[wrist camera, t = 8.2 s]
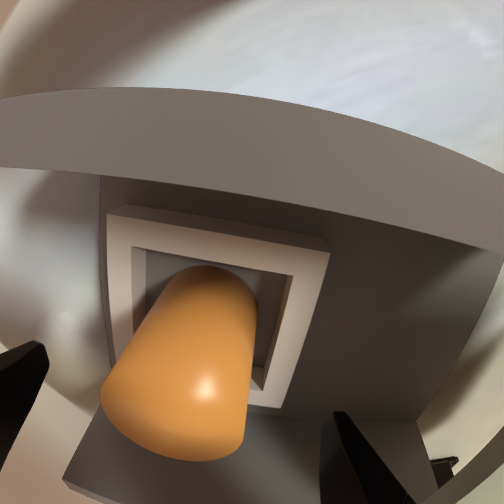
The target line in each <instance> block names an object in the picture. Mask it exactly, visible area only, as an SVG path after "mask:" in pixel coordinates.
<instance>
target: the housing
mask: <svg viewBox="0 0 504 504" xmlns="http://www.w3.org/2000/svg"><path fill="white" fill-rule="evenodd" d="M0 167H9V168H26V169H41V170H54V171H66V172H77V173H88V174H98V175H101V178H100V210H99V233H100V265H101V283H102V296H103V307H104V317H105V326H106V334H107V342H108V349H109V355H110V362H111V368H112V369H113V367H114V366H115V364H116V362H117V361H118V359H119V358H120V356H121V354H122V353H123V351H124V350H125V348H126V346H127V345H128V343H129V342H130V340H131V339H132V337H133V335H134V334H135V332H136V331H137V329H138V328H139V326H140V325H141V323H142V322H143V320H144V318H145V317H146V315H147V314H148V312H149V311H150V309H151V308H152V306H153V305H154V303H155V302H156V300H157V299H158V297H159V296H160V294H161V293H162V291H163V290H164V288H165V287H166V285H167V284H168V282H169V281H170V280H171V279H172V277H173V276H174V275H176V274H177V273H178V272H180V271H181V270H183V269H186V268H188V267H191V266H196V265H213V266H218V267H221V268H224V269H227V270H229V271H231V272H233V273H234V274H236V275H237V276H239V277H240V278H241V279H242V280H244V281H245V282H246V284H247V285H248V286H249V287H250V289H251V290H252V292H253V294H254V296H255V298H256V301H257V306H258V317H257V326H256V335H255V344H254V353H253V362H252V371H251V379H250V388H249V396H248V405H247V413H246V421H245V430H244V437H243V441H242V443H241V445H240V446H239V448H238V449H237V450H236V451H235V452H233V453H232V454H230V455H228V456H226V457H223V458H220V459H217V460H211V461H185V460H178V459H174V458H170V457H166V456H163V455H160V454H157V453H154V452H152V451H150V450H148V449H146V448H144V447H142V446H140V445H138V444H136V443H135V442H133V441H132V440H130V439H129V438H127V437H126V436H125V435H124V434H122V433H121V432H120V431H119V430H118V429H117V428H116V427H115V426H114V425H113V424H112V423H111V421H110V420H109V419H108V417H107V416H106V414H105V412H104V410H103V408H102V405H101V404H100V406H99V408H98V410H97V412H96V414H95V415H94V417H93V419H92V421H91V423H90V425H89V427H88V428H87V431H86V432H85V434H84V436H83V438H82V440H81V442H80V444H79V445H78V447H77V449H76V451H75V453H74V455H73V457H72V459H71V461H70V463H69V465H68V467H67V469H66V471H65V473H64V475H63V477H62V480H63V481H64V482H65V483H66V485H67V486H68V487H69V488H70V489H72V490H74V491H76V492H78V493H81V494H83V495H85V496H87V497H90V498H92V499H95V500H97V501H100V502H102V503H105V504H321V503H320V488H319V462H320V441H321V429H322V426H323V424H324V422H325V421H326V419H327V417H328V415H329V413H330V412H331V411H333V410H335V411H345V412H346V413H347V414H348V416H349V417H350V418H351V420H352V421H353V422H354V423H355V425H356V426H357V427H358V429H359V430H360V431H361V433H362V434H363V435H364V437H365V438H366V439H367V440H368V442H369V443H370V444H371V446H372V447H373V448H374V450H375V451H376V452H377V453H378V455H379V456H380V457H381V459H382V460H383V461H384V462H385V464H386V465H387V466H388V468H389V469H390V470H391V471H392V473H393V474H394V475H395V477H396V478H397V479H398V480H399V482H400V483H401V484H402V485H403V487H404V488H405V489H406V491H407V492H408V494H410V495H411V497H412V498H413V499H414V500H415V502H416V503H417V504H421V503H422V502H423V501H425V500H426V499H427V498H428V497H430V496H431V495H432V494H434V493H435V492H436V491H437V490H439V489H438V486H437V483H436V479H435V476H434V473H433V470H432V466H431V463H430V460H429V457H428V454H427V451H426V448H425V445H424V442H423V440H422V437H421V434H420V431H419V428H418V425H417V423H416V420H417V418H418V417H419V416H420V414H421V413H422V412H423V410H424V409H425V407H426V406H427V405H428V403H429V402H430V400H431V399H432V398H433V396H434V395H435V393H436V392H437V390H438V389H439V387H440V386H441V384H442V383H443V381H444V380H445V378H446V376H447V375H448V373H449V372H450V370H451V368H452V367H453V365H454V364H455V362H456V360H457V358H458V357H459V355H460V353H461V352H462V350H463V348H464V346H465V344H466V343H467V341H468V339H469V337H470V335H471V333H472V331H473V330H474V328H475V326H476V324H477V322H478V320H479V318H480V316H481V314H482V312H483V309H484V307H485V305H486V303H487V301H488V299H489V296H490V294H491V292H492V289H493V287H494V285H495V282H496V280H497V278H498V275H499V273H500V270H501V267H502V265H503V262H504V174H503V173H501V172H499V171H497V170H495V169H493V168H491V167H488V166H486V165H484V164H482V163H480V162H478V161H476V160H473V159H471V158H469V157H466V156H464V155H462V154H459V153H457V152H455V151H452V150H450V149H447V148H445V147H442V146H440V145H437V144H435V143H432V142H429V141H427V140H424V139H421V138H418V137H416V136H413V135H410V134H407V133H404V132H401V131H398V130H395V129H392V128H389V127H385V126H382V125H379V124H375V123H372V122H369V121H365V120H362V119H358V118H354V117H351V116H347V115H343V114H339V113H335V112H331V111H326V110H322V109H318V108H313V107H309V106H304V105H299V104H294V103H289V102H283V101H278V100H272V99H266V98H259V97H253V96H246V95H238V94H230V93H221V92H212V91H201V90H188V89H172V88H143V87H116V88H88V89H72V90H60V91H50V92H41V93H33V94H26V95H19V96H13V97H7V98H2V99H0Z"/></svg>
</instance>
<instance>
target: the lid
mask: <svg viewBox="0 0 504 504" xmlns="http://www.w3.org/2000/svg"><path fill="white" fill-rule="evenodd" d="M421 504H504V426H503V427H502V429H501V430H500V431H499V432H498V433H497V434H496V435H495V436H494V438H493V439H492V440H491V441H490V442H489V443H488V444H487V445H486V446H485V447H484V448H483V449H482V450H481V451H480V452H479V453H478V454H477V455H476V456H475V457H474V458H473V459H472V460H471V461H470V462H469V463H468V464H467V465H466V466H465V467H464V468H463V469H462V470H461V471H459V472H458V473H457V474H456V475H455V476H454V477H453V478H452V479H450V480H449V481H448V482H447V483H446V484H445V485H443V486H442V487H441V488H440V489H439V490H437V491H436V492H435V493H434V494H432V495H431V496H430V497H428V498H427V499H426V500H425V501H423V502H422V503H421Z"/></svg>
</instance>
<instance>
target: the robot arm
mask: <svg viewBox="0 0 504 504" xmlns="http://www.w3.org/2000/svg"><path fill="white" fill-rule="evenodd" d="M49 365H50V364H49V359H48V356H47V352H46V349H45V346H44V345H43V344H42V343H40V342H37V341H34V340H33V341H30V342H27V343H25V344H23V345H20V346H18V347H16V348H13V349H11V350H9V351H6V352H4V353H1V354H0V471H1V469H2V467H3V464H4V462H5V460H6V458H7V455H8V453H9V451H10V449H11V447H12V445H13V443H14V441H15V439H16V437H17V435H18V433H19V431H20V429H21V427H22V425H23V423H24V421H25V419H26V417H27V415H28V413H29V412H30V410H31V408H32V406H33V404H34V402H35V399H36V397H37V395H38V392H39V390H40V388H41V385H42V383H43V381H44V378H45V376H46V374H47V372H48V369H49ZM458 461H459V459H458V457H453V458H448V459H443V460H437V461H431V462H430V463H431V466H432V470H433V473H434V476H435V479H436V483H437V486H438V489H440V488H441V487H442V486H443V485H445V484H446V483H447V482H448V481H449V480H450V479H452V478H453V477H454V475H453V472H452V469H451V468H452V467H453V466H454V465H455V464H456V463H458ZM319 488H320V503H321V504H417V503H416V502H415V500H414V499H413V498H412V497H411V495H410V494H408V492H407V491H406V489H405V488H404V487H403V485H402V484H401V483H400V482H399V480H398V479H397V478H396V477H395V475H394V474H393V473H392V471H391V470H390V469H389V468H388V466H387V465H386V464H385V462H384V461H383V460H382V459H381V457H380V456H379V455H378V453H377V452H376V451H375V450H374V448H373V447H372V446H371V444H370V443H369V442H368V440H367V439H366V438H365V437H364V435H363V434H362V433H361V431H360V430H359V429H358V427H357V426H356V425H355V423H354V422H353V421H352V420H351V418H350V417H349V416H348V414H347V413H346V412H345V411H335V410H333V411H331V412H330V413H329V415H328V417H327V419H326V421H325V422H324V424H323V426H322V429H321V441H320V462H319Z"/></svg>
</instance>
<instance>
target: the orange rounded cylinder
mask: <svg viewBox="0 0 504 504" xmlns="http://www.w3.org/2000/svg"><path fill="white" fill-rule="evenodd" d="M257 317H258V306H257V301H256V298H255V296H254V294H253V292H252V290H251V289H250V287H249V286H248V285H247V284H246V282H245V281H244V280H242V279H241V278H240V277H239V276H237V275H236V274H234V273H233V272H231V271H229V270H227V269H224V268H221V267H218V266H213V265H196V266H191V267H188V268H186V269H183V270H181V271H180V272H178V273H177V274H176V275H174V276H173V277H172V279H171V280H170V281H169V282H168V284H167V285H166V287H165V288H164V290H163V291H162V293H161V294H160V296H159V297H158V299H157V300H156V302H155V303H154V305H153V306H152V308H151V309H150V311H149V312H148V314H147V315H146V317H145V318H144V320H143V322H142V323H141V325H140V326H139V328H138V329H137V331H136V332H135V334H134V335H133V337H132V339H131V340H130V342H129V343H128V345H127V346H126V348H125V350H124V351H123V353H122V354H121V356H120V358H119V359H118V361H117V362H116V364H115V366H114V367H113V369H112V370H111V372H110V374H109V375H108V377H107V379H106V380H105V382H104V384H103V385H102V387H101V391H100V402H101V405H102V408H103V410H104V412H105V414H106V416H107V417H108V419H109V420H110V421H111V423H112V424H113V425H114V426H115V427H116V428H117V429H118V430H119V431H120V432H121V433H122V434H124V435H125V436H126V437H127V438H129V439H130V440H132V441H133V442H135V443H136V444H138V445H140V446H142V447H144V448H146V449H148V450H150V451H152V452H154V453H157V454H160V455H163V456H166V457H170V458H174V459H178V460H185V461H211V460H217V459H220V458H223V457H226V456H228V455H230V454H232V453H233V452H235V451H236V450H237V449H238V448H239V446H240V445H241V443H242V441H243V437H244V430H245V421H246V413H247V405H248V396H249V388H250V379H251V371H252V362H253V353H254V344H255V335H256V326H257Z"/></svg>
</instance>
